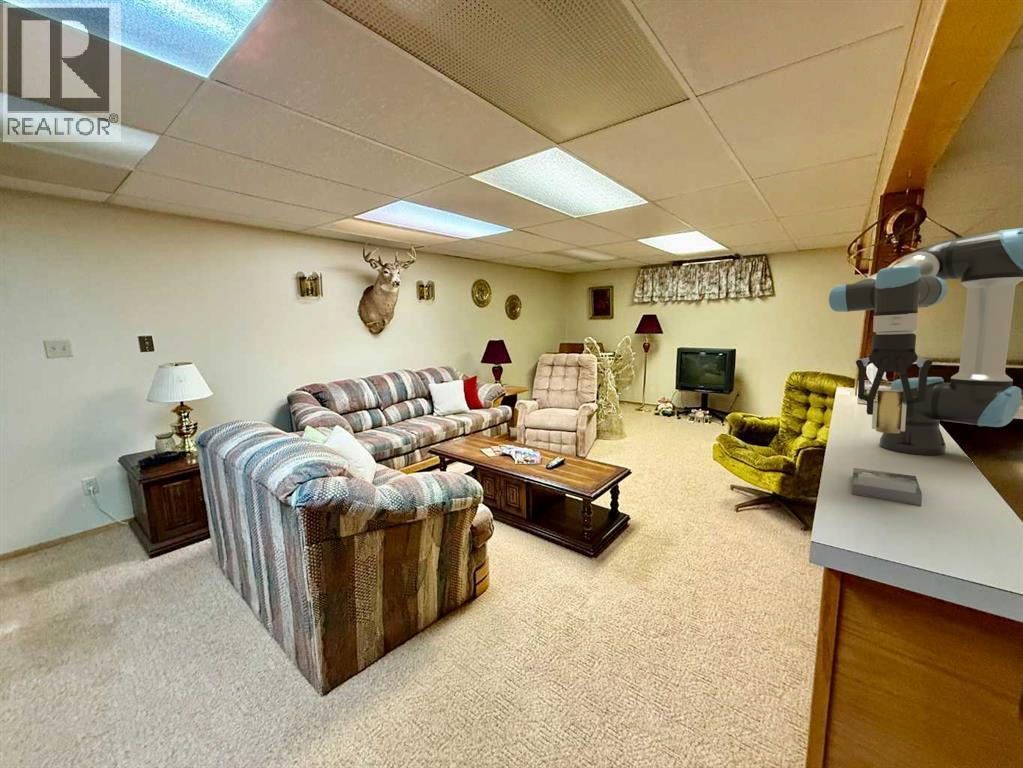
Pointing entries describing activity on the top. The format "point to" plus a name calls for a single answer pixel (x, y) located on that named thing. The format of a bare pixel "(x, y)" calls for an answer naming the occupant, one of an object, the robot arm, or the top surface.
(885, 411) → the brass rounded cylinder
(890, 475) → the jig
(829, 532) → the top surface
